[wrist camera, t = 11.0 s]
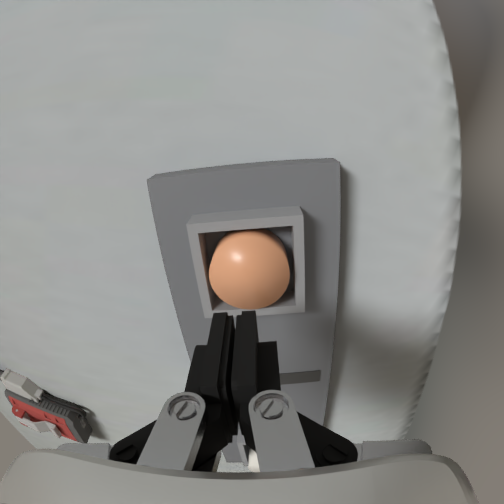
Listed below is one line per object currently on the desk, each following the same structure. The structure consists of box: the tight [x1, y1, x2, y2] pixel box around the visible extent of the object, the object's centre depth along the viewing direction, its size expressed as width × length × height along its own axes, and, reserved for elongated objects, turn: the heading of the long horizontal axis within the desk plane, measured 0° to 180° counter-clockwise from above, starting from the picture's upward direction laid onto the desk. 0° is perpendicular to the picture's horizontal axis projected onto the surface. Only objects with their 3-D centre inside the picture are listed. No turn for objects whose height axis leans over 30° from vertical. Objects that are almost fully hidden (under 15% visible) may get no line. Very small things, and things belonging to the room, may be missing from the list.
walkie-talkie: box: [0, 368, 92, 443], centre depth 26 cm, size 9×4×20 cm
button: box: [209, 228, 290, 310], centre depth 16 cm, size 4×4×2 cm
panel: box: [147, 158, 341, 466], centre depth 21 cm, size 30×10×3 cm, turn 5°
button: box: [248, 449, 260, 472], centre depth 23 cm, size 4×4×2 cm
